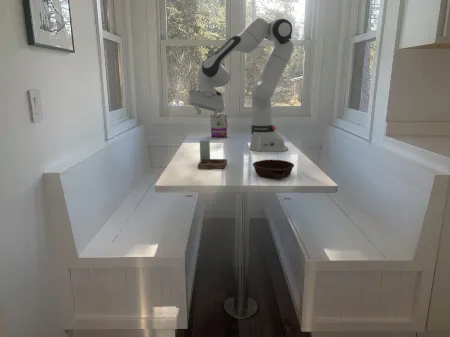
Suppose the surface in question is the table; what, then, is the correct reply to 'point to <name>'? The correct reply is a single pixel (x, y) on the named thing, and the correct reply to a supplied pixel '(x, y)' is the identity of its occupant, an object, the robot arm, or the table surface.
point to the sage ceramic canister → (204, 149)
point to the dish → (273, 168)
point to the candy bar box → (219, 125)
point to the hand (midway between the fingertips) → (207, 115)
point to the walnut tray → (212, 164)
